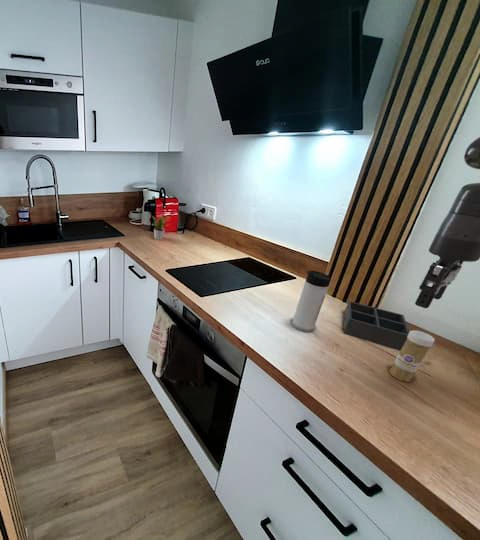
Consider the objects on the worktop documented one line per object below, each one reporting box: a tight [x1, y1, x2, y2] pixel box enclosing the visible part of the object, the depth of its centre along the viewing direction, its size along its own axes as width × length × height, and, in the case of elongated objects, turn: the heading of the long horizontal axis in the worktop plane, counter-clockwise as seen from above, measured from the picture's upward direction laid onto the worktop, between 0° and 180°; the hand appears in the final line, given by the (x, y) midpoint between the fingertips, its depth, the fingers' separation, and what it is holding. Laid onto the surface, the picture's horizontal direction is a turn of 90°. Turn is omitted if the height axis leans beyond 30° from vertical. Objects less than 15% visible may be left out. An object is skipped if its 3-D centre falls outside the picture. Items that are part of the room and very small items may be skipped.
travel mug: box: [291, 270, 332, 333], centre depth 93 cm, size 6×7×20 cm
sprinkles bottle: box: [388, 330, 436, 383], centre depth 74 cm, size 5×5×13 cm
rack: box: [342, 300, 410, 352], centre depth 94 cm, size 15×15×6 cm
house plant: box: [151, 214, 170, 241], centre depth 180 cm, size 14×14×16 cm
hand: (427, 301), depth 67 cm, fingers open, 8 cm apart
